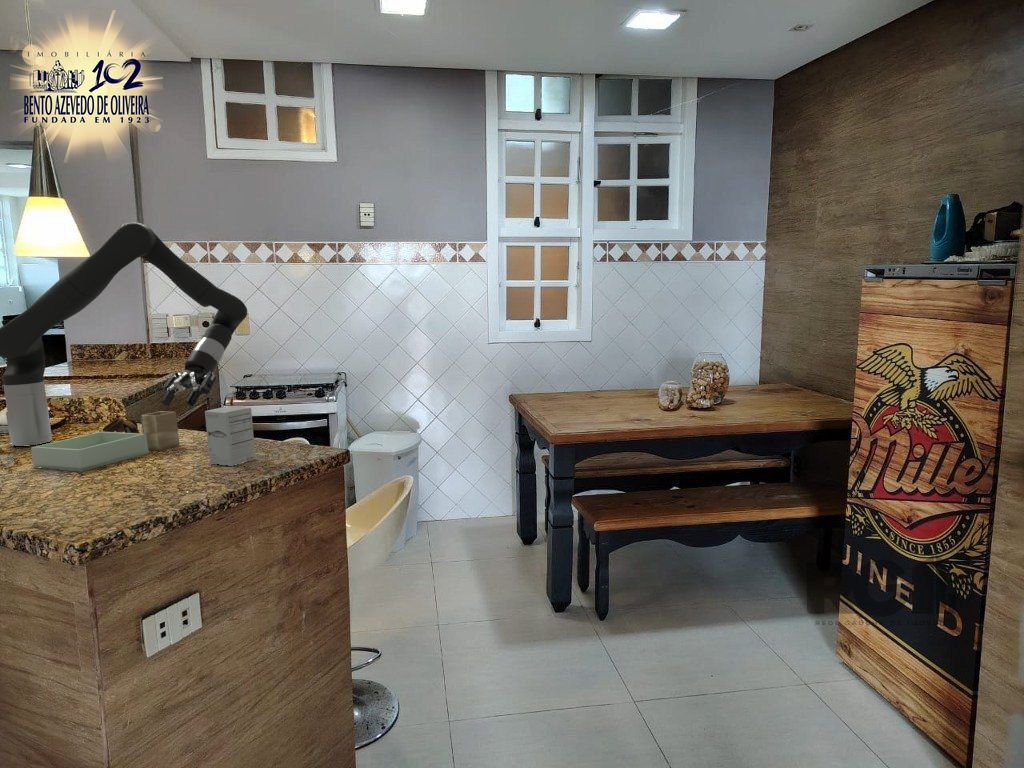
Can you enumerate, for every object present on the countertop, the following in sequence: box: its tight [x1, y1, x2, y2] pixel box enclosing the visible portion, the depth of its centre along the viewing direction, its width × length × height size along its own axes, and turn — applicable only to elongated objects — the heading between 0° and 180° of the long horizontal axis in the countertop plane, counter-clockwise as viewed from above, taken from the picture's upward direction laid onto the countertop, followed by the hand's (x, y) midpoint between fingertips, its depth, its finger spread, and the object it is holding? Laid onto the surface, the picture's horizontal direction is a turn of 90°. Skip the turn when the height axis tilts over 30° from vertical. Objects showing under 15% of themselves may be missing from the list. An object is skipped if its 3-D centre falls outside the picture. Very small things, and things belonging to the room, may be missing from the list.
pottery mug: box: [99, 417, 141, 434], centre depth 186 cm, size 12×10×8 cm
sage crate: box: [30, 431, 149, 472], centre depth 167 cm, size 16×18×5 cm
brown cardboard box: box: [140, 410, 180, 451], centre depth 178 cm, size 6×6×9 cm
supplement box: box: [204, 405, 256, 467], centre depth 158 cm, size 7×7×13 cm
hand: (176, 404), depth 183 cm, fingers open, 8 cm apart
